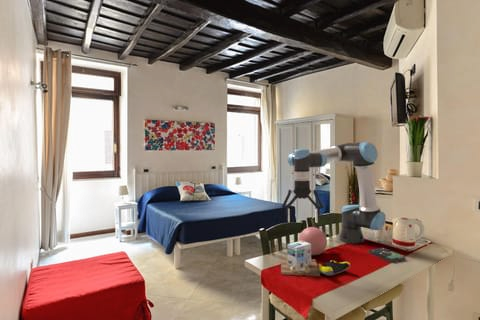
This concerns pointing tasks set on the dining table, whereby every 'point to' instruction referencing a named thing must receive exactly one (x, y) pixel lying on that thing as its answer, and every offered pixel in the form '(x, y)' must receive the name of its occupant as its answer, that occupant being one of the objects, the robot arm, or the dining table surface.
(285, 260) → the pin board
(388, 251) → the disk drive
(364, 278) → the dining table surface
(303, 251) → the light bulb box
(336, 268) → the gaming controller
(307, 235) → the balloon
